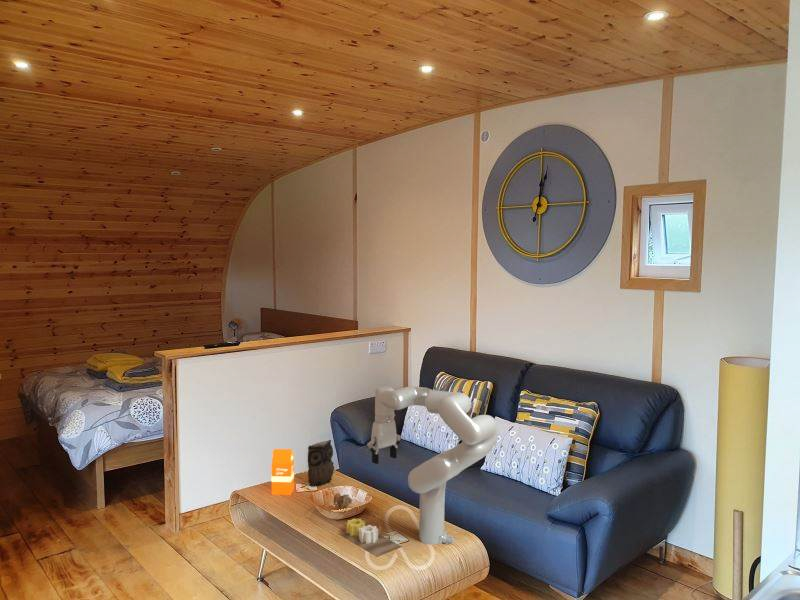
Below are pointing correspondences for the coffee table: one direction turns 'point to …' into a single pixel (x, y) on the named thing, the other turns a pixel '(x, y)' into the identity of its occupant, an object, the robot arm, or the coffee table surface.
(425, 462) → the robot arm
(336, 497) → the lion figurine
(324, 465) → the owl
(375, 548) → the gear board
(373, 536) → the loose gear
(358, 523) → the gear
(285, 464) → the orange juice
